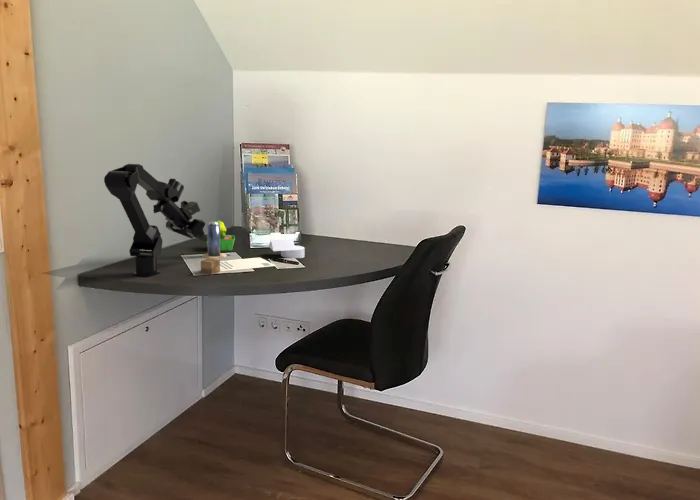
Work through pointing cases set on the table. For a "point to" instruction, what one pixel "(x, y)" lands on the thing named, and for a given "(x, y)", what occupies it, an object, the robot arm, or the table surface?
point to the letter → (244, 264)
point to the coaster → (215, 256)
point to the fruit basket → (224, 238)
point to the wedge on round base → (287, 248)
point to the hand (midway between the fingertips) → (199, 239)
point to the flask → (213, 239)
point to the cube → (210, 266)
